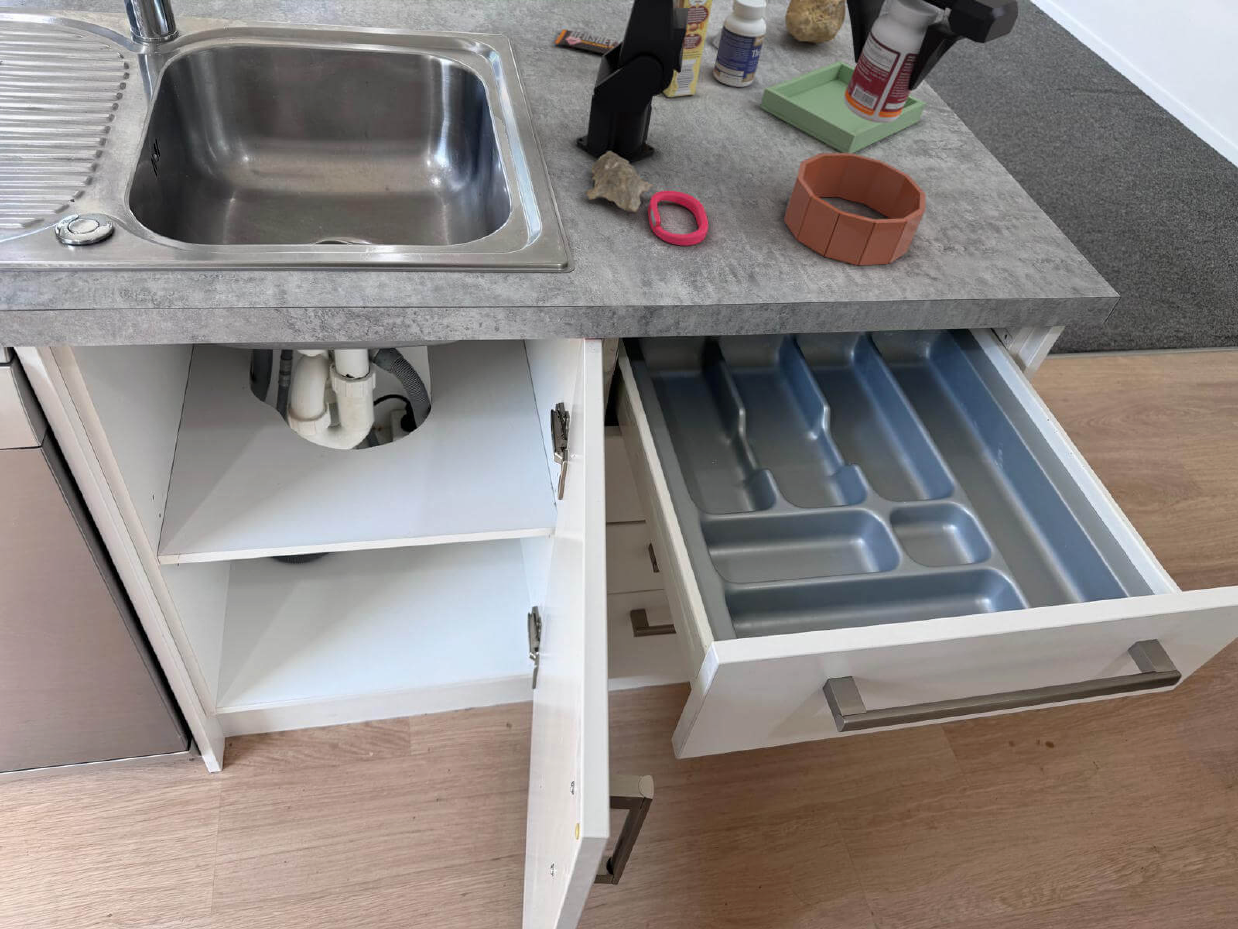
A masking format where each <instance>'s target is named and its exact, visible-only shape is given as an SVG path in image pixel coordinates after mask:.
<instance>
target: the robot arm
mask: <svg viewBox="0 0 1238 929" xmlns="http://www.w3.org/2000/svg"><path fill="white" fill-rule="evenodd" d="M845 1H846V2H845V3H846V6H847V11H848V16H849V21H850V29H851V38H852V48H853V58H854V63H855V64H857V62H858V60H859V57H860V55H861V53H862V50H863V48H864V45H865V43H866V41H867V38H868V36H869V33H870V31H871V29H872V26H873V24H874V22H875V21H876V19H877V18H878V17H880V16H881V15H880V14H881V11H882V8H883V6H884V4H885V2H886V0H845ZM922 1H925V2H927V3H929V4H931V5H933V6H936V7H938V8H939V9H941V10H942V11H944V12H943V14H942V19H941V20H939V21H937V22H935V23H934V24H931V25H928V27H927V30H926V33H925V36H924V39H923V42H922V45H921V48H920V50H919V53H918V56H917V59H916V62H915V65H914V68H913V71H912V73H911V77H910V81H909V86H908V90H910V91H911V92H912V91H915V90H916V89H918V87H919V86H920V85H921V84H922V83H923V81H924V80H925V78H926V77H927V76H928V75H929V74H930V72H932V70H933V69H934V68H935V67H936V65H937V64H938V63H939V61H940V60H941V59H942V58H943V57H944V56H945V54H946V53H947V52H948V51H949V50H950V49H951V48H952V47H953V46H954V45H955V44H956V43H957V42H958V41H961V40H964V39H968V40H970V41H972V42H974V43H977V44H986V43H988V42H991V41H993V40H994V41H995V40H997V39H999V38H1002V37H1005V36H1007V35H1009V34H1011V32H1012V30H1013V28H1014V26H1015V24H1016V21H1017V19H1018V17H1019V7H1018V6H1019V5H1018V1H1017V0H922ZM688 12H689V9H688V8H676V3H675V0H633V3H632V6H631V9H630V14H629V17H628V21H627V24H626V28H625V31H624V35H623V39H622V42H620V43H619V44H618V45H616V46H615V47H613V48H612V49H611V50H609V51H608V52H607V53H605V54H602V55H601V60H600V64H599V68H598V71H597V76H596V79H595V84H594V87H593V94H592V95H591V99H590V100H591V102H590V108H589V110H590V111H589V119H588V127H587V134H586V135H583V136H580V137H578V138H576V141H575V144H576V145H577V146H578V147H580V148H582V149H583V150H584V151H586V152H588V153H589V154H591V155H593V157H595V158H597V159H599V158H600V157H601V156H603V155H605V154H606V152H607V151H612V152H613V153H615V154H617V155H618V156H619V157H621V158H623V159H625V160H627V161H629V164H630V165H631V164H632V163H634V162H637V161H639V160H643V159H645V158H648V157H650V156H652V155H654V154H655V151H656V149H655V148H654V147H653V146H652V145H650V144H648V143H646V142H647V140H648V134H649V129H650V123H651V118H652V112H653V106H652V105H653V104H652V102H653V97H655V96H658V95H659V96H660V94H662V93H663V91H664V90H666V89H668V87H669V86H670V84H671V82H672V79H673V75H674V70H675V71H677V72H678V73H680V72H681V68H682V58H683V48H684V44H683V42H684V39H685V35H686V32H687V22H688Z"/></svg>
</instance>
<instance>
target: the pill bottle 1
mask: <svg viewBox="0 0 1238 929" xmlns="http://www.w3.org/2000/svg"><path fill="white" fill-rule="evenodd" d="M766 8H767V1H766V0H734V1H733V4H732V12H730V13H728V14H727V15H726V16H725V18H724V20H723V24H722V28H723V29H722V34H721V38H720V43H719V48H717V53H716V58H715V63H714V67H713V76H714V78H715V79H716V81H718V82H720V83H722V84H723V85H727V86H730V87H738V88H744V87H748V86H750V85H752V84H753V82H754V79H755V76H756V72H757V68H758V65H759V61H760V56H761V52H762V49H763V44H764V40H765V36H766V32H767V23H766V21H765V19H763V17H765V13H766Z"/></svg>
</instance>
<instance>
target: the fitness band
mask: <svg viewBox="0 0 1238 929" xmlns="http://www.w3.org/2000/svg"><path fill="white" fill-rule="evenodd" d="M662 201H663V202H664V201H665V202H666V201H667V202H670V203H671V202H672V203H675V204H678V205H680V206H683V207H685V208H687V209H688V210H689V211H690V212H692V213H693V215H694V217H695V219H696V224H697V228H698V229H697V230H695V231H693V232H690V233H684V234H683V233H682V234H681V233H680V234H679V233H672V232H670V231H667V230H665V229H664V228H663V227H662V226H661V223H662V220H661V216H660V212H659V209H658V203H659V202H662ZM647 216H648V222H649V226H650V229H651V231H652V232H653V233H654V234H655V236H657V237H658V238H659V239H661V240H663V241H664V242H666V243H670V244H671V245H677V246H684V247H685V246H693V245H697V244H699V243H701V242H703V241H704V240H705V238H706V236H707V234H708V230H709V221H708V216H707V214H706V210H705V207H704V205H703V204H702V203H701V202H700V201H699V200H698V199H697V198H695V197H693V195H690V194H688V193H685V192H682V191H678V190H677V191H676V190H661V191H658V192H655V193H654V194H653V195H652V196H651V198H650V200H649V203H648V204H647Z"/></svg>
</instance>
